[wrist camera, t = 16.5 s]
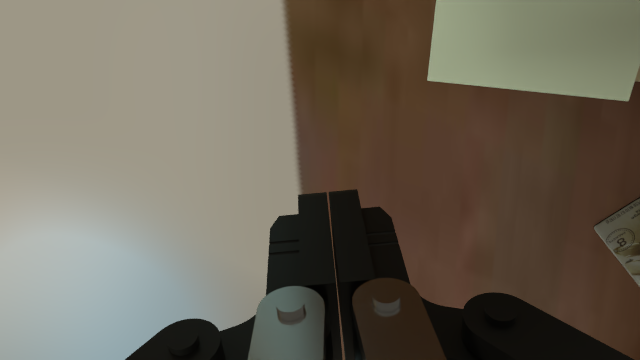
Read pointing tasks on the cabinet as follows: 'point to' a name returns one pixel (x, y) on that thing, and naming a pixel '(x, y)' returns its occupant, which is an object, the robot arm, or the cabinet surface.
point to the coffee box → (624, 237)
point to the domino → (538, 45)
